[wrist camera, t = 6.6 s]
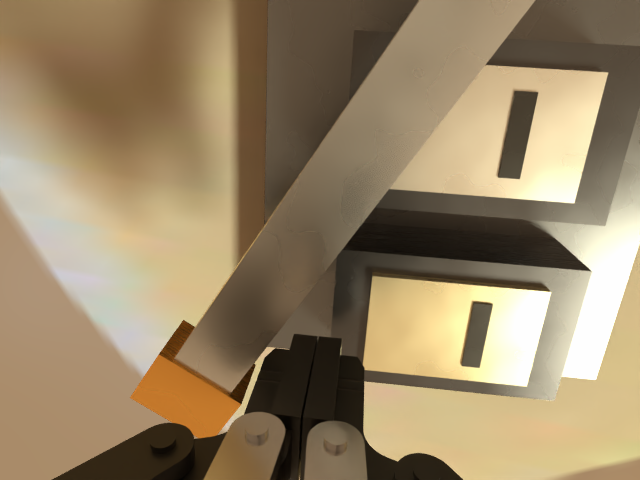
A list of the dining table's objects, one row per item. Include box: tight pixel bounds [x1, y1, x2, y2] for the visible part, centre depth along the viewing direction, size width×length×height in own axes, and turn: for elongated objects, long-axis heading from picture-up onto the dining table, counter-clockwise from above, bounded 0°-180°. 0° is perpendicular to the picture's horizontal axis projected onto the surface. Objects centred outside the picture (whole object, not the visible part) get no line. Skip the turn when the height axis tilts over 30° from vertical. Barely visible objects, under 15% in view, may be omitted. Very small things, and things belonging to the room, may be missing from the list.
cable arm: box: [130, 0, 535, 438], centre depth 11 cm, size 18×3×2 cm, turn 146°
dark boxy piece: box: [264, 0, 640, 401], centre depth 16 cm, size 17×14×7 cm
